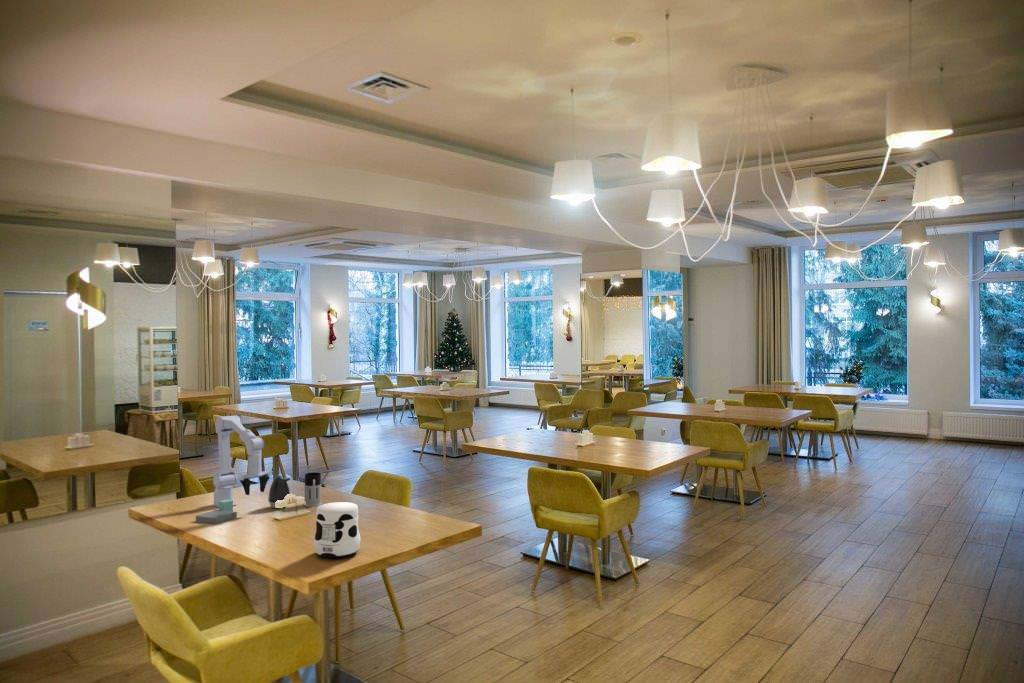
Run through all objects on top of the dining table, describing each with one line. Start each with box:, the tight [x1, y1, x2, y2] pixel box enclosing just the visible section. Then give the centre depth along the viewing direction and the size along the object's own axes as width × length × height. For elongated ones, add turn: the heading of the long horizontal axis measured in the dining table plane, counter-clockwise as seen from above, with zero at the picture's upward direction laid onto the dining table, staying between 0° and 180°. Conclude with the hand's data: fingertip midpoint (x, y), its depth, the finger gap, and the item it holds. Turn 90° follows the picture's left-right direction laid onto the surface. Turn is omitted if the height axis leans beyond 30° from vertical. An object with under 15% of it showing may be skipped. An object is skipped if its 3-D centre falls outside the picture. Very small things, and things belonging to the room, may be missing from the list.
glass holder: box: [304, 471, 323, 508], centre depth 334 cm, size 9×14×15 cm, turn 20°
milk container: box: [313, 501, 362, 559], centre depth 261 cm, size 17×17×18 cm
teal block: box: [218, 499, 234, 512], centre depth 319 cm, size 4×4×6 cm
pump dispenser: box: [268, 475, 291, 509], centre depth 331 cm, size 10×10×15 cm
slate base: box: [195, 509, 238, 525], centre depth 309 cm, size 12×12×2 cm
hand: (254, 493), depth 317 cm, fingers open, 7 cm apart
